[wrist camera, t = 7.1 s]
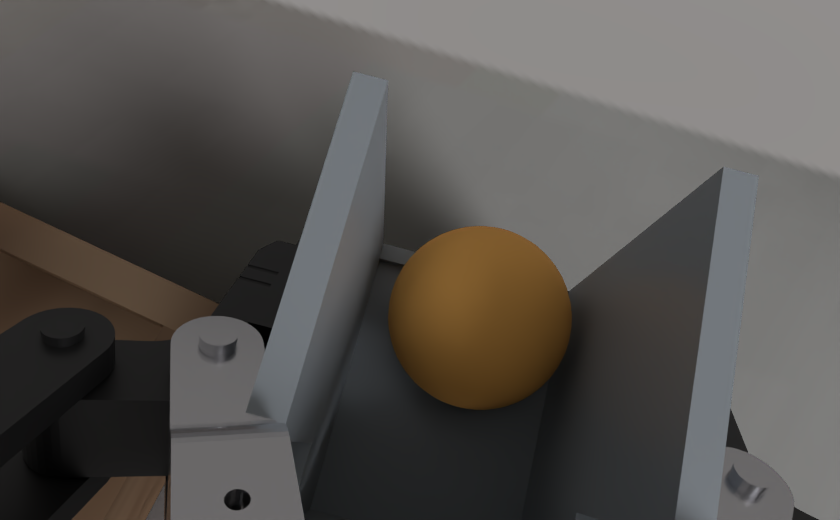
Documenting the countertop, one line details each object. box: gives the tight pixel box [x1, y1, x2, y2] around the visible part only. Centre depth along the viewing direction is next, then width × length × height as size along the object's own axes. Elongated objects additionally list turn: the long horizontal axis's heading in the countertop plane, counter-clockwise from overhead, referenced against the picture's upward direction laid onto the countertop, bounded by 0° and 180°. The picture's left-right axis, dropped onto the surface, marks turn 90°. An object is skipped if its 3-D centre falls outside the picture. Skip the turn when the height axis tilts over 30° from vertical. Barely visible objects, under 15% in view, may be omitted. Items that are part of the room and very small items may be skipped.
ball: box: [388, 226, 572, 410], centre depth 15 cm, size 4×4×4 cm
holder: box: [246, 71, 759, 520], centre depth 13 cm, size 7×6×9 cm
